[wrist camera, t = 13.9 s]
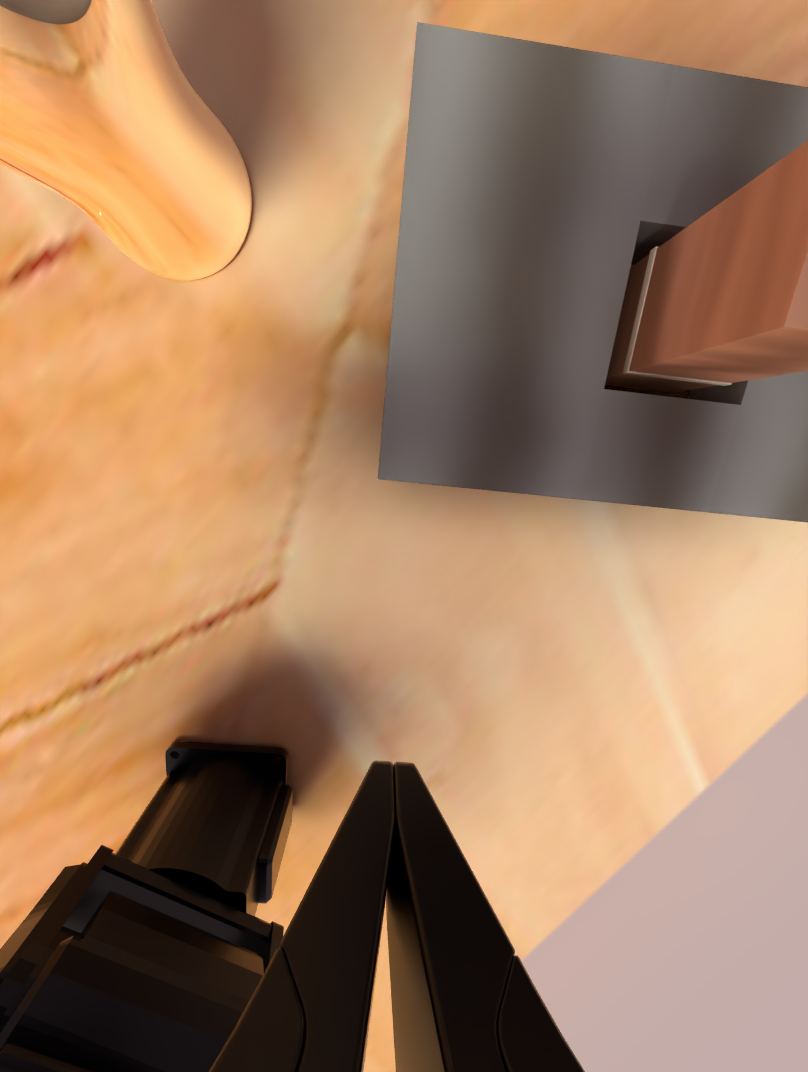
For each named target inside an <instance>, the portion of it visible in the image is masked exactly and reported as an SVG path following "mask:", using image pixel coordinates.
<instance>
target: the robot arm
mask: <svg viewBox="0 0 808 1072" xmlns="http://www.w3.org/2000/svg"><path fill="white" fill-rule="evenodd" d="M177 752H178V753H177ZM276 757H278V758H280V759H277V758H276ZM166 772H167V777H166V779H165V780H164V782H163V783H162V785H161V786H160V788H159V789H158V791H157V792H156V794H155V795H154V797H153V798H152V800H151V801H150V803H149V804H148V806H147V807H146V809H145V810H144V812H143V813H142V815H141V816H140V818H139V819H138V821H137V822H136V824H135V826H134V827H133V829H132V830H131V832H130V833H129V835H128V836H127V838H126V839H125V841H124V842H123V844H122V845H121V847H120V848H119V850H118V851H117V853H116V854H114V853H112V852H113V850H112V849H110V848H108V847H106V846H103V845H101V846H100V848H99V849H98V850H97V852H96V853H95V855H94V856H93V857H92V859H91V860H90V862H89V863H88V864H87V863H84V862H83V863H82V864H81V865H74V866H68V867H65V868H64V869H63V870H62V872H61V873H60V874H59V876H58V877H57V878H56V880H55V881H54V882H53V883H52V885H51V886H50V887H49V889H48V890H47V891H46V893H45V894H44V895H43V897H42V898H41V899H40V901H39V902H38V903H37V904H36V906H35V907H34V908H33V910H32V911H31V912H30V913H29V915H28V916H27V917H26V918H25V920H24V921H23V922H22V923H21V925H20V926H19V927H18V928H17V929H16V931H15V932H14V933H13V934H12V935H11V937H10V938H9V939H8V940H7V942H6V943H5V944H4V945H3V946H2V948H1V949H0V1072H363V1069H364V1062H365V1054H366V1046H367V1039H368V1031H369V1023H370V1016H371V1008H372V1000H373V993H374V985H375V977H376V970H377V962H378V954H379V947H380V939H381V931H382V924H383V916H384V908H385V900H386V911H387V931H388V947H389V964H390V980H391V997H392V1013H393V1030H394V1047H395V1063H396V1072H585V1071H584V1070H583V1068H582V1066H581V1065H580V1063H579V1061H578V1060H577V1058H576V1057H575V1055H574V1053H573V1052H572V1050H571V1049H570V1047H569V1045H568V1044H567V1042H566V1041H565V1039H564V1037H563V1036H562V1034H561V1032H560V1030H559V1029H558V1027H557V1025H556V1023H555V1022H554V1020H553V1018H552V1016H551V1015H550V1013H549V1011H548V1009H547V1007H546V1006H545V1004H544V1002H543V1000H542V999H541V997H540V995H539V993H538V992H537V990H536V988H535V986H534V984H533V983H532V981H531V979H530V977H529V975H528V973H527V971H526V970H525V968H524V966H523V964H522V962H521V960H520V958H519V957H518V956H517V955H515V956H514V954H515V950H514V948H513V946H512V944H511V942H510V940H509V938H508V936H507V935H506V933H505V931H504V929H503V927H502V925H501V923H500V922H499V920H498V918H497V916H496V914H495V912H494V910H493V909H492V907H491V905H490V903H489V901H488V899H487V897H486V896H485V894H484V892H483V890H482V888H481V886H480V884H479V883H478V881H477V879H476V877H475V875H474V873H473V871H472V870H471V868H470V866H469V864H468V862H467V860H466V858H465V857H464V855H463V853H462V851H461V849H460V847H459V846H458V844H457V842H456V840H455V838H454V836H453V834H452V833H451V831H450V829H449V827H448V825H447V823H446V821H445V820H444V818H443V816H442V814H441V812H440V810H439V808H438V807H437V805H436V803H435V801H434V799H433V797H432V795H431V794H430V792H429V790H428V788H427V786H426V784H425V782H424V781H423V779H422V777H421V775H420V773H419V771H418V769H417V768H416V766H415V765H414V764H413V763H405V762H396V763H395V764H394V765H393V763H392V762H389V761H374V762H373V763H372V764H371V766H370V768H369V770H368V772H367V774H366V775H365V777H364V779H363V781H362V783H361V785H360V787H359V789H358V791H357V793H356V795H355V797H354V799H353V801H352V803H351V805H350V807H349V809H348V811H347V813H346V815H345V817H344V819H343V821H342V823H341V824H340V826H339V828H338V830H337V832H336V834H335V836H334V838H333V840H332V842H331V844H330V846H329V848H328V850H327V852H326V854H325V856H324V858H323V860H322V862H321V864H320V866H319V868H318V870H317V872H316V873H315V875H314V877H313V879H312V881H311V883H310V885H309V887H308V889H307V891H306V893H305V895H304V897H303V899H302V901H301V903H300V905H299V907H298V909H297V911H296V913H295V915H294V917H293V919H292V921H291V922H290V924H289V926H288V928H287V930H286V932H285V934H284V936H283V930H284V927H283V926H282V925H280V924H277V923H275V922H271V924H270V923H268V922H266V921H264V920H261V919H259V918H257V917H255V913H256V909H257V906H258V903H267V902H268V901H269V900H270V899H271V898H272V895H273V891H274V887H275V884H276V880H277V876H278V872H279V868H280V864H281V861H282V857H283V853H284V849H285V845H286V841H287V838H288V834H289V830H290V826H291V822H292V802H293V788H292V786H291V785H290V784H287V775H288V753H287V751H286V750H284V749H282V748H273V747H257V746H241V745H224V744H208V743H192V742H174V743H172V744H171V745H170V747H169V748H168V750H167V751H166Z"/></svg>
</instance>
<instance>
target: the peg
mask: <svg viewBox="0 0 808 1072" xmlns="http://www.w3.org/2000/svg"><path fill="white" fill-rule="evenodd" d="M803 371H808V141H806V142H805V143H803V144H802V145H801V146H799V147H798V148H796V149H795V150H794V151H792V152H791V153H789V154H788V155H787V156H785V157H784V158H782V159H781V160H780V161H778V162H777V163H776V164H774V165H773V166H771V167H770V168H769V169H767V170H766V171H764V172H763V173H762V174H760V175H759V176H757V177H756V178H755V179H753V180H752V181H750V182H749V183H748V184H746V185H745V186H743V187H742V188H741V189H739V190H738V191H736V192H735V193H734V194H732V195H731V196H729V197H728V198H727V199H725V200H724V201H722V202H721V203H720V204H718V205H717V206H716V207H714V208H713V209H711V210H710V211H709V212H707V213H706V214H704V215H703V216H702V217H700V218H699V219H697V220H696V221H695V222H693V223H692V224H690V225H689V226H688V227H686V228H685V229H683V230H682V231H681V232H679V233H678V234H676V235H675V236H674V237H672V238H671V239H669V240H668V241H667V242H665V243H664V244H662V245H661V246H660V247H655V248H653V249H652V250H651V251H650V254H649V255H647V256H646V257H644V258H643V259H642V260H640V261H639V262H637V263H636V264H635V265H633V266H632V267H630V272H629V276H628V281H627V285H626V290H625V295H624V299H623V304H622V309H621V313H620V318H619V322H618V327H617V332H616V336H615V341H614V345H613V350H612V355H611V359H610V364H609V368H608V373H607V378H606V382H605V385H610V386H619V387H627V388H635V389H644V390H652V391H660V392H669V393H674V392H680V391H686V390H692V389H698V388H704V387H711V386H717V385H721V386H727V385H731V383H735V382H741V381H747V380H754V379H760V378H766V377H772V376H778V375H784V374H790V373H796V372H803Z"/></svg>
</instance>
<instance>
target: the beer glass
mask: <svg viewBox="0 0 808 1072" xmlns="http://www.w3.org/2000/svg"><path fill="white" fill-rule="evenodd" d="M0 165H2V166H4V167H6V168H8V169H10V170H12V171H14V172H16V173H18V174H20V175H22V176H24V177H26V178H28V179H30V180H32V181H34V182H36V183H38V184H40V185H42V186H43V187H45V188H47V189H49V190H51V191H53V192H55V193H57V194H59V195H60V196H62V197H64V198H65V199H67V200H68V201H70V202H71V203H73V204H74V205H76V206H77V207H78V208H79V209H81V210H82V211H83V212H84V213H85V214H86V215H88V216H89V217H90V218H91V219H92V220H93V221H94V223H95V224H96V225H97V226H98V227H99V228H100V229H101V230H102V231H103V232H104V233H105V234H106V235H107V237H108V238H109V239H110V240H111V241H112V242H113V243H114V244H115V245H116V246H117V247H118V248H119V249H120V250H121V251H122V252H123V253H124V254H125V255H127V256H128V257H129V258H130V259H132V260H133V261H134V262H135V263H137V264H138V265H140V266H141V267H143V268H144V269H146V270H148V271H150V272H152V273H154V274H157V275H159V276H162V277H166V278H169V279H174V280H196V279H201V278H204V277H207V276H210V275H212V274H214V273H216V272H218V271H219V270H221V269H222V268H224V267H225V266H226V265H227V264H228V263H230V261H231V260H232V259H233V258H234V257H235V256H236V254H237V253H238V251H239V250H240V248H241V246H242V245H243V243H244V240H245V238H246V235H247V232H248V229H249V225H250V220H251V212H252V196H251V187H250V182H249V177H248V173H247V170H246V166H245V164H244V161H243V158H242V156H241V154H240V152H239V150H238V148H237V146H236V144H235V142H234V141H233V139H232V137H231V136H230V134H229V133H228V131H227V130H226V129H225V127H224V126H223V125H222V123H221V122H220V121H219V120H218V118H217V117H216V116H215V115H214V114H213V112H212V111H211V110H210V109H209V108H208V106H207V105H206V104H205V103H204V102H203V101H202V99H201V98H200V97H199V96H198V95H197V93H196V92H195V91H194V89H193V88H192V87H191V85H190V84H189V82H188V81H187V79H186V78H185V76H184V74H183V73H182V71H181V69H180V67H179V65H178V63H177V61H176V59H175V57H174V55H173V53H172V51H171V49H170V46H169V44H168V41H167V39H166V37H165V34H164V32H163V29H162V27H161V24H160V22H159V19H158V17H157V14H156V12H155V9H154V7H153V4H152V1H151V0H0Z"/></svg>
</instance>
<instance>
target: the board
mask: <svg viewBox="0 0 808 1072" xmlns="http://www.w3.org/2000/svg"><path fill="white" fill-rule="evenodd" d="M806 141H808V87H802V86H796V85H790V84H784V83H778V82H772V81H766V80H760V79H754V78H748V77H742V76H736V75H730V74H724V73H718V72H712V71H706V70H700V69H694V68H688V67H682V66H676V65H670V64H664V63H658V62H652V61H646V60H640V59H634V58H628V57H622V56H616V55H610V54H604V53H598V52H592V51H586V50H580V49H575V48H569V47H563V46H557V45H551V44H545V43H539V42H533V41H527V40H521V39H515V38H509V37H503V36H497V35H491V34H485V33H479V32H473V31H467V30H461V29H455V28H449V27H443V26H437V25H431V24H425V23H419V22H417V31H416V43H415V55H414V66H413V78H412V89H411V101H410V112H409V124H408V136H407V147H406V159H405V170H404V182H403V193H402V205H401V216H400V228H399V240H398V251H397V263H396V274H395V286H394V297H393V309H392V321H391V332H390V344H389V355H388V367H387V378H386V390H385V402H384V413H383V425H382V436H381V448H380V459H379V471H378V479H383V480H393V481H403V482H412V483H422V484H432V485H442V486H452V487H462V488H472V489H482V490H492V491H502V492H512V493H522V494H532V495H541V496H551V497H561V498H571V499H581V500H591V501H601V502H611V503H621V504H631V505H641V506H651V507H661V508H670V509H680V510H690V511H700V512H710V513H720V514H730V515H740V516H750V517H760V518H770V519H780V520H789V521H799V522H808V371H803V372H796V373H790V374H784V375H778V376H772V377H766V378H760V379H754V380H747V381H741V382H735V383H731V385H727V386H721V385H717V386H711V387H704V388H698V389H692V390H689V393H688V397H687V399H685V398H677V397H668V396H660V395H651V394H643V393H634V392H626V391H617V390H609V389H604V387H605V382H606V378H607V373H608V368H609V364H610V359H611V355H612V350H613V345H614V341H615V336H616V332H617V327H618V322H619V318H620V313H621V309H622V304H623V299H624V295H625V290H626V285H627V281H628V276H629V272H630V267H631V265H635V264H636V263H637V262H639V261H640V260H642V259H643V258H644V257H646V256H647V255H649V254H650V251H651V250H652V249H653V248H655V247H660V246H661V245H662V244H664V243H665V242H667V241H668V240H669V239H671V238H672V237H674V236H675V235H676V234H678V233H679V232H681V231H682V230H683V229H685V228H686V227H688V226H689V225H690V224H692V223H693V222H695V221H696V220H697V219H699V218H700V217H702V216H703V215H704V214H706V213H707V212H709V211H710V210H711V209H713V208H714V207H716V206H717V205H718V204H720V203H721V202H722V201H724V200H725V199H727V198H728V197H729V196H731V195H732V194H734V193H735V192H736V191H738V190H739V189H741V188H742V187H743V186H745V185H746V184H748V183H749V182H750V181H752V180H753V179H755V178H756V177H757V176H759V175H760V174H762V173H763V172H764V171H766V170H767V169H769V168H770V167H771V166H773V165H774V164H776V163H777V162H778V161H780V160H781V159H782V158H784V157H785V156H787V155H788V154H789V153H791V152H792V151H794V150H795V149H796V148H798V147H799V146H801V145H802V144H803V143H805V142H806Z"/></svg>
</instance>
